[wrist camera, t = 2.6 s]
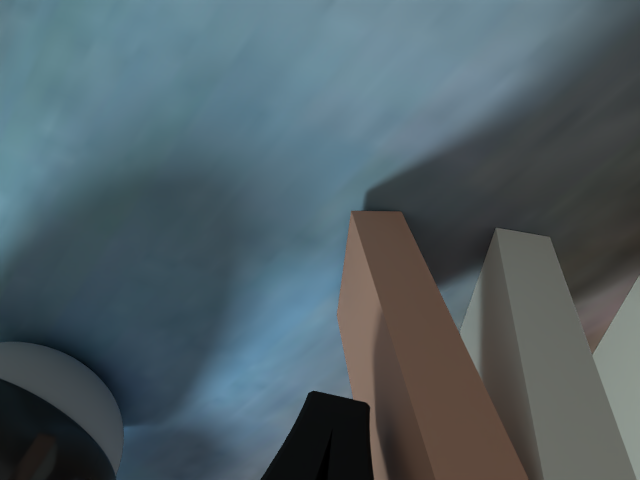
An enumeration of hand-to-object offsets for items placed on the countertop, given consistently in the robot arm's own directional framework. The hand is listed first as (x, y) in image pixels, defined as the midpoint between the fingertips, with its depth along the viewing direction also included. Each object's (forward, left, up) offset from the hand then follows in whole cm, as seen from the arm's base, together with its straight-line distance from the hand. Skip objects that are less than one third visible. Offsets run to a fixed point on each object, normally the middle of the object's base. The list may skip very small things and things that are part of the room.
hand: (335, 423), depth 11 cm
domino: (-3, -4, -6) cm, 8 cm away
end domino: (0, 0, -6) cm, 6 cm away
